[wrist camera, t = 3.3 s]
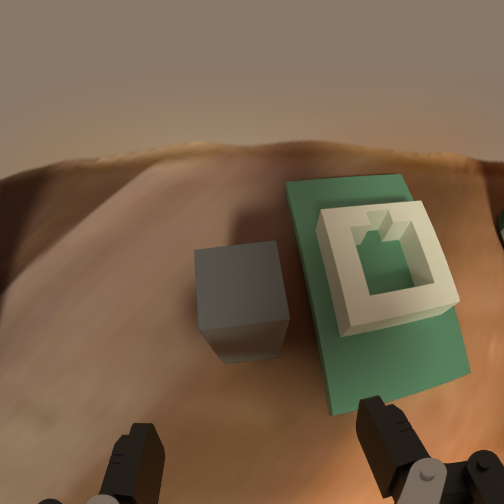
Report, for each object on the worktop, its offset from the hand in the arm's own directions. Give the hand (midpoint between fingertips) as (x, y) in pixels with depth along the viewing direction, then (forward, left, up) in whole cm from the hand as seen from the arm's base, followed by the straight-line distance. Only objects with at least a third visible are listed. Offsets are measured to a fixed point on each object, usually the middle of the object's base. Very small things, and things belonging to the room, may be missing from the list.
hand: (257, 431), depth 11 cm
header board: (+11, +10, -11) cm, 18 cm away
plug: (0, +7, -11) cm, 13 cm away
